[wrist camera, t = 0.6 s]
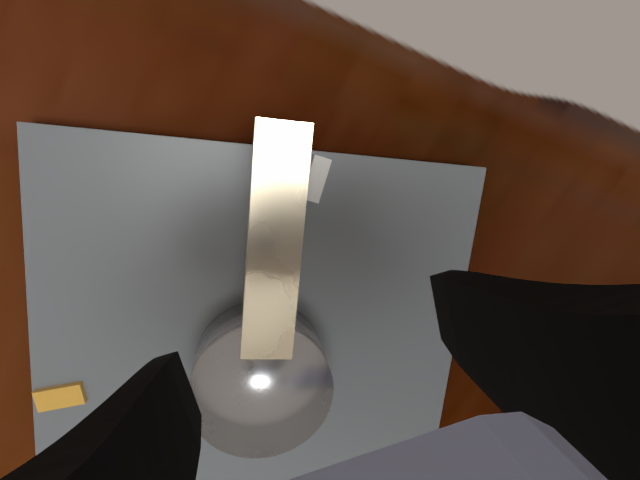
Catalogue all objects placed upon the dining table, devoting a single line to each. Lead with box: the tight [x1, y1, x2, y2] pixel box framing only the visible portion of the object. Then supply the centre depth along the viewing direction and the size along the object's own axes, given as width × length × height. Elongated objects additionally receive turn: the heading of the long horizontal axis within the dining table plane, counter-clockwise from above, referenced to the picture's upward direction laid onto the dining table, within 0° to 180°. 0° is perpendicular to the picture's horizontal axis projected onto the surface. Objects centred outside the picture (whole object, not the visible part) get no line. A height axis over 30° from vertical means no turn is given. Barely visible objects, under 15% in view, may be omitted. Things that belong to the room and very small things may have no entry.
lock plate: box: [17, 122, 487, 480], centre depth 21 cm, size 20×20×2 cm
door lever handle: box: [189, 117, 334, 458], centre depth 18 cm, size 14×6×4 cm, turn 174°
